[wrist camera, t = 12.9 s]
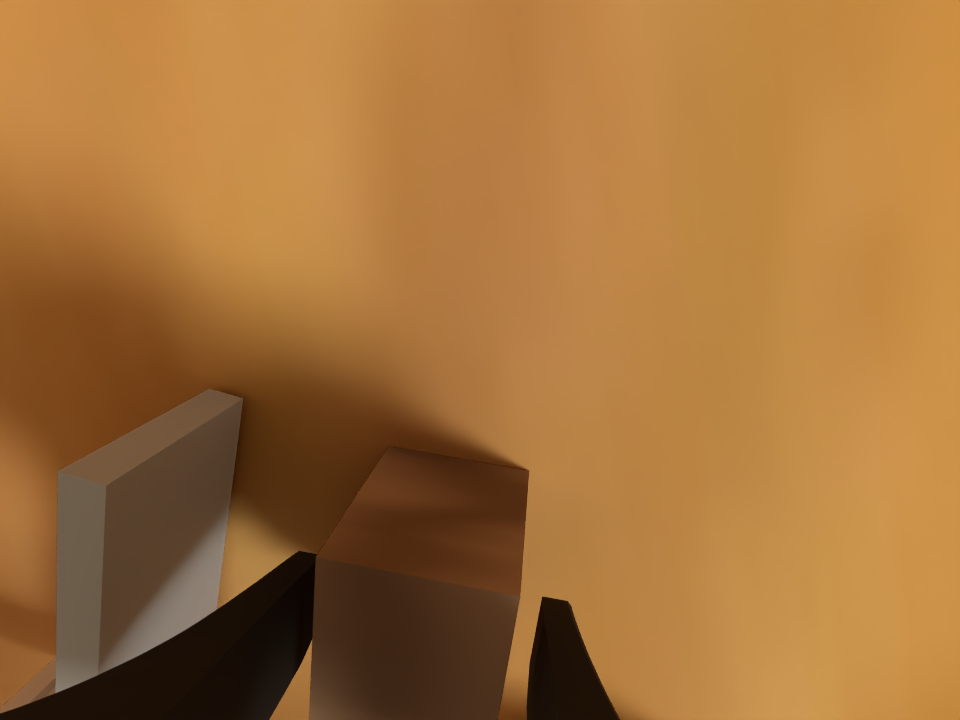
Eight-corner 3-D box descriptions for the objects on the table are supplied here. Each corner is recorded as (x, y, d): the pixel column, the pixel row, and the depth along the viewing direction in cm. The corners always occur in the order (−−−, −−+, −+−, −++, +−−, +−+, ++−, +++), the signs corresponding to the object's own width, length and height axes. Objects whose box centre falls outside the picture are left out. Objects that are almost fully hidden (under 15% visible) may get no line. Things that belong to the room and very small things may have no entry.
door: (169, 376, 15) (-22, 463, 10) (243, 398, 15) (89, 496, 10) (145, 676, 18) (-5, 852, 13) (205, 695, 18) (77, 879, 13)
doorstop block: (528, 469, 15) (520, 596, 10) (503, 614, 16) (485, 785, 11) (389, 445, 15) (316, 556, 10) (377, 589, 16) (308, 745, 12)
